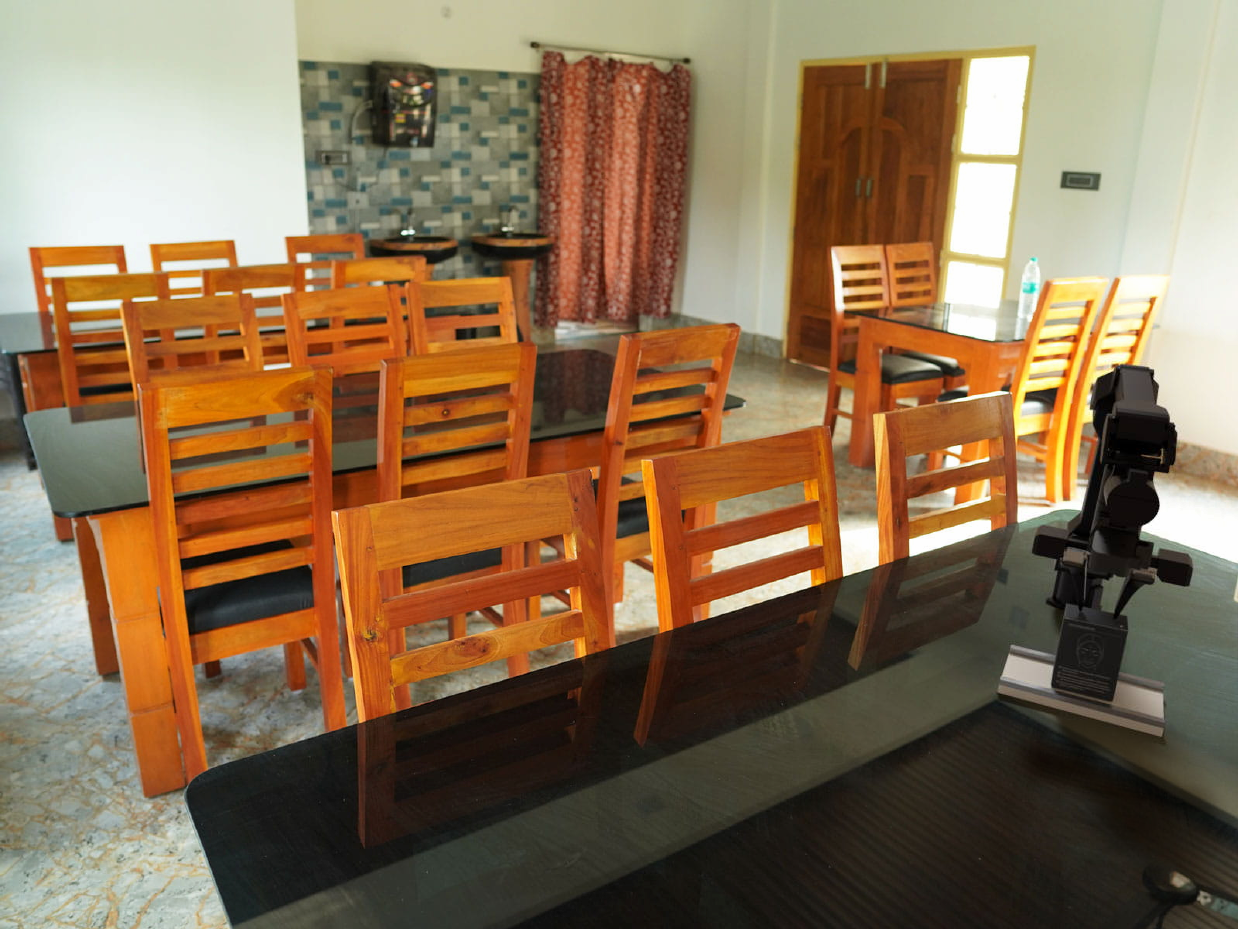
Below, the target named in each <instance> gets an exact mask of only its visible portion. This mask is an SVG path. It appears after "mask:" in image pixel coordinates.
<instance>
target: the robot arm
mask: <svg viewBox="0 0 1238 929" xmlns="http://www.w3.org/2000/svg"><path fill="white" fill-rule="evenodd" d="M1154 378H1155V369H1153V368H1150V367H1149V366H1143V365H1136V364H1126V363H1121V364H1115V366H1114V368H1113V370H1112V371H1110V372H1108V373H1105V374H1102V375H1100V376H1098V377H1097V378H1096V380H1095V383H1094V385H1093V388H1092V391H1091V396H1090V402H1089V411H1092V427H1093V429H1094V432H1095V433H1096V436H1097V440H1096V445H1095V450H1094V452H1093V453H1094V455H1093V458H1092V463H1091V467H1090V470H1089V471H1090V472H1089V475H1088V476H1089V477H1088V479H1087V480H1088V481H1087V484H1086V489H1085V493H1084V497H1083V501H1082V506H1081V511H1080V512H1079V513H1078V514H1077V515H1075V516H1074V517H1073V518H1071V519H1070V521H1068V522H1067V524H1066V528H1061V527H1055V526H1051V525H1046V524H1043V525H1040V526H1039V527H1038V528H1037V530H1036V532H1035V535H1034V540H1033V544H1032V549H1031V554H1033V555H1034V556H1038V557H1043V558H1047V559H1052V560H1053V571H1055V572H1056V576H1055V581H1054V586H1053V590H1052V596H1049V597H1046V598H1045V602H1047V603H1049V604H1051V605H1054V606H1056V607H1058V608H1060V609H1063V610H1065V607H1066V604H1072V605H1076V606H1078V608H1079V611H1082V609H1083V607H1086V608H1091V609H1096V610H1101V611H1102V609H1103V606H1102V605H1101V603H1102V597H1103V592H1104V587H1105V586H1104V585H1103V580H1105V581H1107V582H1108V581H1110V579H1113V578H1114V576H1116V577H1118V578H1124V581H1123V583H1122V586H1121V589H1120V591H1119V595H1118V597H1117V599H1116V602H1115V604H1114V605H1115V606H1114V612H1113V613H1114V615H1113V619H1117V617H1118V616H1119V614H1120V615H1121V613H1122V611H1123V610H1124V609H1125V607H1126V605H1127V604H1128V602H1129V601H1130V600H1131V598H1132V597H1133V596H1134V595H1135V594H1136V593H1137V592H1138V590H1139V589H1141V588H1142V587H1144V586H1145V585H1148V586H1154V585H1155V582H1156V576H1157V578H1158V579H1159V580H1160V582H1161V583H1166V584H1170V585H1174V586H1180V587H1183V588H1186V587H1190V585H1191V582H1192V578H1193V571H1194V564H1193V558H1192V557H1191V556H1190V554H1189V553H1186V552H1181V551H1175V550H1172V549H1165V548H1160V547H1159V549H1158V551H1157V555H1155V554H1154V547H1155V542H1153V541H1149V540H1143V539H1141V533H1142V530H1143V526H1145V525H1147V524H1150V523H1151V522H1152V521H1153V520H1155V518H1156V517H1157V516H1158V514H1159V511H1160V507H1161V506H1160V505H1161V503H1160V497H1159V495H1158V492H1157V489H1156V487H1155V484H1154V477H1155V473H1160V474H1169V473H1170V469H1171V467H1173V466H1174V465H1175V463H1176V460H1177V459H1176V458H1177V457H1176V456H1177V445H1178V434H1179V432H1178V431H1177V430H1176V424H1175V422H1172V421H1171V415H1170V413H1169V411H1168V409H1167V408H1165V407H1163V406H1161V405H1158V404H1157V403H1158V399H1159V398H1158V397H1159V391H1160V389H1159V388H1160V384H1159V383H1158V382H1157V381H1156V380H1155V379H1154ZM1160 457H1162V458H1160Z"/></svg>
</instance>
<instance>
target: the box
mask: <svg viewBox="0 0 1238 929" xmlns="http://www.w3.org/2000/svg"><path fill="white" fill-rule="evenodd" d="M1113 615H1114V612H1109V611H1105V610H1102V609H1101V610H1096V609H1091V608H1086V607H1083V609H1082V611H1079V608H1078V606H1076V605H1072V604H1066V607H1065V609H1064V613H1063V617H1062V623H1061V628H1060V631H1059V636H1058V637H1059V638H1058V642H1057V646H1056V653H1055V661H1054V666H1053V673H1052V680H1051V687H1054V688H1058V689H1063V690H1067V691H1071V692H1075V693H1079V694H1084V695H1088V696H1092V697H1096V698H1100V699H1105V700H1109V701H1113V699H1114V694H1115V690H1116V685H1117V681H1118V676H1119V672H1121V666H1122V662H1123V658H1124V652H1125V647H1126V644H1127V639H1128V633H1129V623H1128V622H1129V621H1128V620H1129V618H1128V615H1124V614H1121V613H1120V614H1119V616H1118V617H1117V619H1113Z"/></svg>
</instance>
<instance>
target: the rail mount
mask: <svg viewBox="0 0 1238 929" xmlns="http://www.w3.org/2000/svg"><path fill="white" fill-rule="evenodd" d="M1055 656H1056V654H1055V655H1054V654H1050V653H1047V652H1042V651H1039V650H1035V649H1030V648H1028V647H1023V646H1018V645H1014V644H1011V645H1010V648H1009V653H1008V656H1007V659H1006V662H1005V665H1004V668H1003V672H1002V675H1000V678H999V683H998V688H997V693H999V694H1001V695H1007V696H1010V697H1013V698H1016V699H1021V700H1023V701H1028V702H1031V703H1035V704H1039V705H1042V706H1046V707H1049V708H1054V709H1057V710H1061V711H1065V712H1068V713H1071V714H1076V715H1080V716H1082V717H1086V718H1091V719H1094V720H1097V721H1101V722H1105V723H1108V724H1112V725H1116V726H1120V727H1124V728H1127V729H1132V730H1134V731H1138V732H1141V733H1146V734H1150V735H1153V736H1157V737H1161V738H1162V737H1163V735H1164V734H1163V733H1164V730H1165V724H1166V718H1164V689H1165V682H1162V681H1159V680H1155V679H1150V678H1147V677H1142V676H1139V675H1134V674H1131V673H1127V672H1122V671H1119V676H1118V681H1117V685H1116V690H1115V694H1114V699H1113V701H1109V700H1105V699H1100V698H1096V697H1092V696H1088V695H1084V694H1079V693H1075V692H1071V691H1067V690H1063V689H1058V688H1054V687H1051V680H1052V673H1053V666H1054V661H1055Z"/></svg>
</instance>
